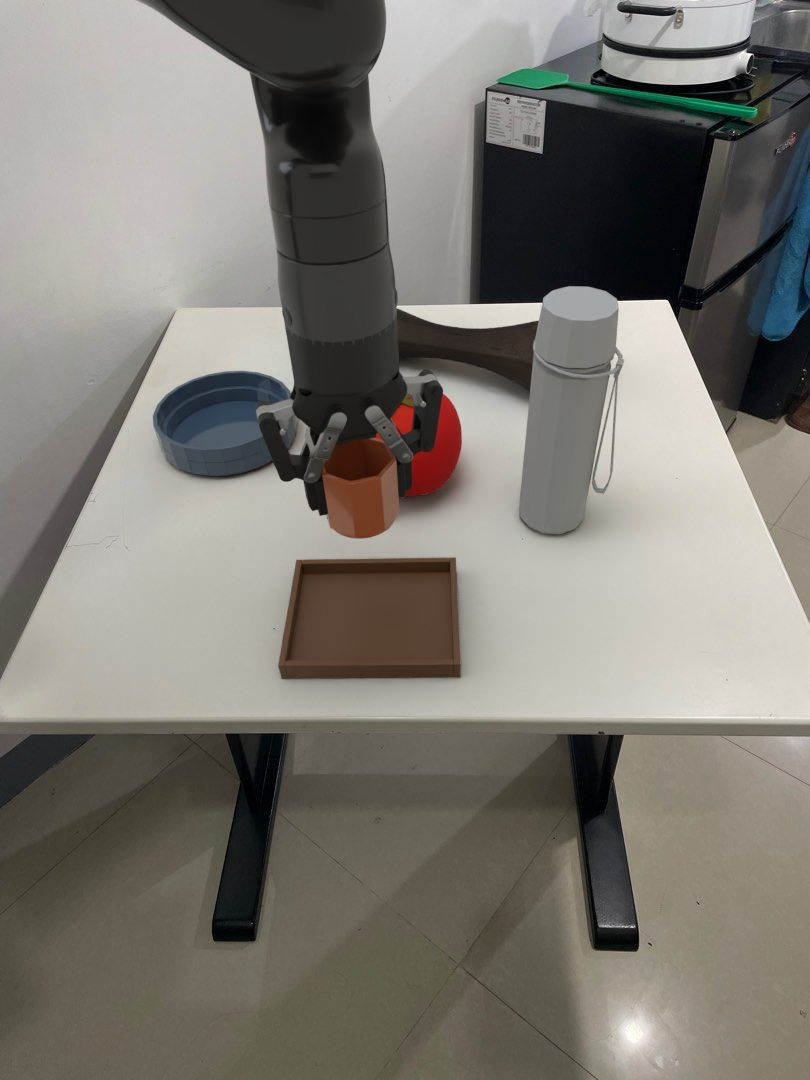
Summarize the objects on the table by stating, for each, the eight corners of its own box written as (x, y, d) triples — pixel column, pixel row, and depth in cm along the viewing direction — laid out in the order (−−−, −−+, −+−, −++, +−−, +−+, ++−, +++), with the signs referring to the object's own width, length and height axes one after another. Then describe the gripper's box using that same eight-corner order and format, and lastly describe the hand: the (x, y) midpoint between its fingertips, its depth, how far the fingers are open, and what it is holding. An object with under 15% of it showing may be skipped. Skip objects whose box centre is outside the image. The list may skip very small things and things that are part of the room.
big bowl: (166, 491, 86) (155, 461, 83) (159, 413, 98) (150, 384, 95) (308, 463, 89) (303, 432, 86) (285, 390, 101) (280, 361, 98)
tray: (281, 678, 67) (277, 665, 65) (298, 572, 76) (296, 559, 75) (460, 677, 66) (460, 664, 65) (455, 570, 75) (455, 557, 74)
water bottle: (508, 531, 79) (526, 317, 62) (527, 487, 84) (548, 277, 67) (593, 551, 77) (638, 333, 59) (607, 504, 82) (652, 291, 64)
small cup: (335, 546, 59) (326, 488, 55) (320, 500, 63) (311, 443, 59) (405, 529, 60) (402, 472, 56) (386, 485, 64) (382, 429, 60)
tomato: (482, 464, 88) (485, 379, 80) (420, 531, 80) (417, 445, 72) (393, 431, 93) (388, 349, 85) (327, 492, 85) (315, 407, 77)
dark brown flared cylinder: (576, 399, 100) (393, 380, 111) (587, 319, 97) (398, 308, 109) (557, 403, 91) (359, 382, 102) (568, 314, 88) (363, 303, 99)
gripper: (426, 269, 52) (429, 456, 64) (225, 302, 50) (266, 490, 62) (461, 316, 47) (458, 510, 59) (238, 356, 45) (281, 550, 56)
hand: (360, 499), depth 60 cm, fingers closed on small cup, 6 cm apart
